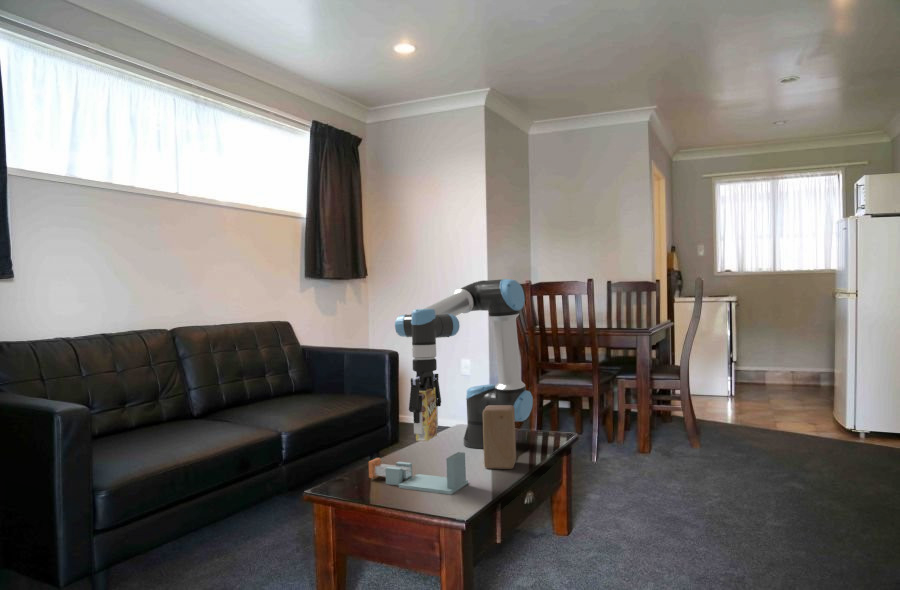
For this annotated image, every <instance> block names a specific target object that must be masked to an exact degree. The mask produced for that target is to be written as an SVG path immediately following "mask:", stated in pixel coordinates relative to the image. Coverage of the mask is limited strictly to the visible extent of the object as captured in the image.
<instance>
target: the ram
mask: <svg viewBox="0 0 900 590" xmlns="http://www.w3.org/2000/svg"><path fill="white" fill-rule="evenodd" d="M387 467H397V468H402V478H404V479H403V480H405V479H406V478H408V477H410V476H411V467H405V466H396V464H386V463H382V460H381V458H380V457H376V458H374V459H371V460H369V461H368V478H370V479H374V478H375V477H379V476H380V477H386V470H385V468H387Z"/></svg>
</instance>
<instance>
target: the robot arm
mask: <svg viewBox="0 0 900 590" xmlns="http://www.w3.org/2000/svg"><path fill="white" fill-rule="evenodd" d="M525 300H526V298H525V292H524V290H523V287H522V285H521V284H520V283H519V281H517V280H516V279H513V278H512V279H507V278H503V279H502V278H501V279H492V280H491V279H489V280H478V281H475V282H473V283H469V284H467V285H465V286H462V287H461V288H459V289H456V290H455V291H454V292H453V293H452V295H450V296H447V297H445V298H443V299H441V300H440V301H437V302H434V303H432V304H431V305H428V306H426V307H424V308H422V309H420V308H419V309H418V308H417V309H413V310H412V311H411V314H401V315H399V316H398V317H397V318H395V322H394V329H395V332H396V335H398V336H399V337H405V338H411V341H412V342H411V344H412V345H411V346H412V347H411V351H412V354H411V355H412V358H413V359H412V371H414V372H416V373H415V375H416V376H415V377H414V378H413V377H410V393H409V394H410V395H409V403H408V411H409V412H410V413H413V414H412V415H413V434H415V435H416V434H423V419H422V412H421V407H422V395H421V396H419V391H426V390H427V388H432V389H434V388H435V397H436V421H437V428H438V427H439V415H438V414H439V413H438V412H439V411H438V410H439V409H438V407H441V405H442V397H441V396H442V395H441V391H440V390H441V389H440V383H439V373H434V371H437V370H438V369H437V367H438V366H437V359H436V357H437V340H436V339H439V338H451V337H454V336H456V335H457V334H458V332H459V331H460V326H461V325H460V321H459V318H458V315H460V314H468V313H470V312H475V311H477V312H478V311H481V312H482V311H486V312H488V317H489V318H490V319H491V320H492V321H493V322H492V323H493V333H494V343H495V357H496V368H497V369H496V371H497V381H498V383H496V384H494V383H492V384H482V385H476V386H470V387H469V388H467V389H466V398H465V400H466V416H467V417H466V420H467V424H466V425H467V426H466V429H465V432H464V437H463V445H464V447H468V448H471V449H472V448H473V449H484V440H483V410H484V409H485V408H486V406H488V405H512V406H514V412H515V422H524V421H525V420H527V419H528V418H529V417H530V414H531V412H532V409H533V403H534V398H533V395H532V392H531V391H529V390H526V389H527V388H526V384H525V383H524V382H523V381H522V379H521V378H522V377H521V375H522V374H521V367H520V366H521V365H520V353H519V340H518V327H517V318H518V316H519V315H520V310H522V309H523V308H524V306H525Z"/></svg>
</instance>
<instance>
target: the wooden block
mask: <svg viewBox="0 0 900 590" xmlns="http://www.w3.org/2000/svg"><path fill="white" fill-rule="evenodd" d="M483 440H484V448H483V465H484V468H485V469H493V470H495V469H496V470H512V469H514V467H515V464H516V460H517V445H516V443H517V442H516V421H515V412H514V406H512V405H488V406H486V408H485V409H484V410H483Z"/></svg>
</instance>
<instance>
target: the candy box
mask: <svg viewBox="0 0 900 590" xmlns="http://www.w3.org/2000/svg"><path fill="white" fill-rule="evenodd" d="M421 395H422V407H421V412H422V419H423V434H416V433H415V441H416V442H428V441H430V440H432V439H433V438H435V437H437V435H438V429H437V428H438V427H437V421H436V397H435V388H434V389H432V388H427V390H426V391H419V396H421Z"/></svg>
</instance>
